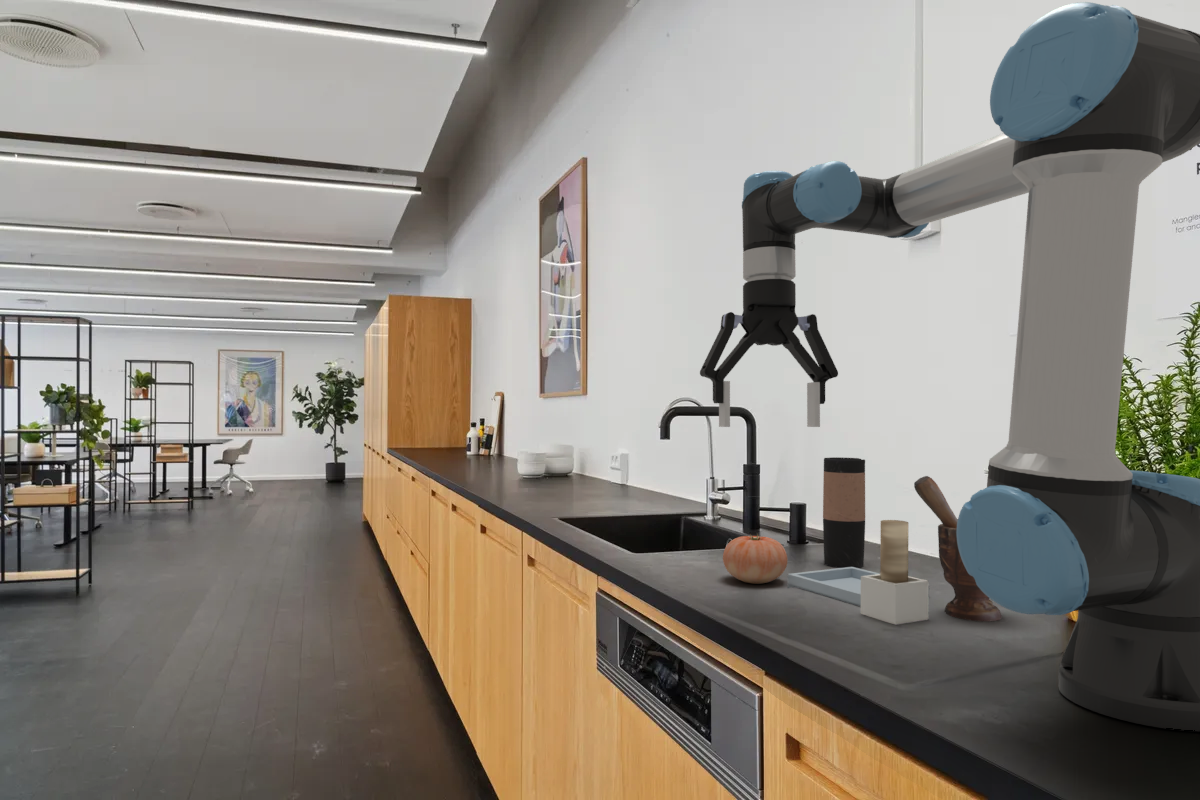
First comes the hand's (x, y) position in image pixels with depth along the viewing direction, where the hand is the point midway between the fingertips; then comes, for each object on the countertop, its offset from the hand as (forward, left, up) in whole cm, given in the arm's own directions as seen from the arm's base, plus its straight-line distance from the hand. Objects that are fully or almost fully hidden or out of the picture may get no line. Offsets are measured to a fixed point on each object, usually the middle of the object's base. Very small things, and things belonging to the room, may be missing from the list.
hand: (769, 427), depth 116 cm
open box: (-13, -12, -27) cm, 32 cm away
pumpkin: (+17, -11, -27) cm, 33 cm away
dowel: (-13, -12, -26) cm, 31 cm away
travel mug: (+21, -35, -27) cm, 49 cm away
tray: (+1, -19, -27) cm, 32 cm away
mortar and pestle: (-16, -21, -27) cm, 38 cm away
